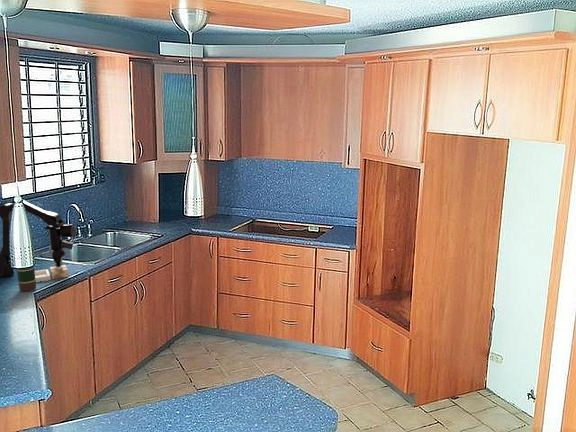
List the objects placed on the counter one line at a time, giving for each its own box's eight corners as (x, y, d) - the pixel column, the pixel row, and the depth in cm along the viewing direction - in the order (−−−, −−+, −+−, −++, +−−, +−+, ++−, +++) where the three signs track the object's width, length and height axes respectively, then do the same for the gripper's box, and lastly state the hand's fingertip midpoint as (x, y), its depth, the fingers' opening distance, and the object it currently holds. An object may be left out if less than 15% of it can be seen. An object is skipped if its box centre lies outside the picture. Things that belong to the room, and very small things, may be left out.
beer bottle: (35, 286, 292) (30, 240, 288) (37, 290, 286) (31, 243, 281) (18, 288, 289) (13, 242, 284) (20, 293, 282) (14, 245, 277)
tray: (27, 283, 297) (27, 279, 296) (26, 276, 309) (25, 272, 309) (50, 280, 302) (50, 275, 301) (48, 273, 314) (47, 269, 314)
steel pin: (55, 277, 307) (53, 260, 306) (54, 275, 311) (52, 259, 309) (64, 275, 309) (62, 259, 307) (63, 273, 313) (61, 257, 311)
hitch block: (52, 278, 304) (51, 271, 303) (50, 274, 313) (49, 267, 312) (68, 276, 307) (67, 269, 307) (66, 272, 316) (65, 265, 316)
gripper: (73, 238, 301) (76, 267, 304) (69, 232, 318) (72, 259, 321) (50, 241, 297) (53, 270, 300) (47, 234, 313) (50, 262, 316)
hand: (58, 265), depth 309 cm, fingers open, 5 cm apart
